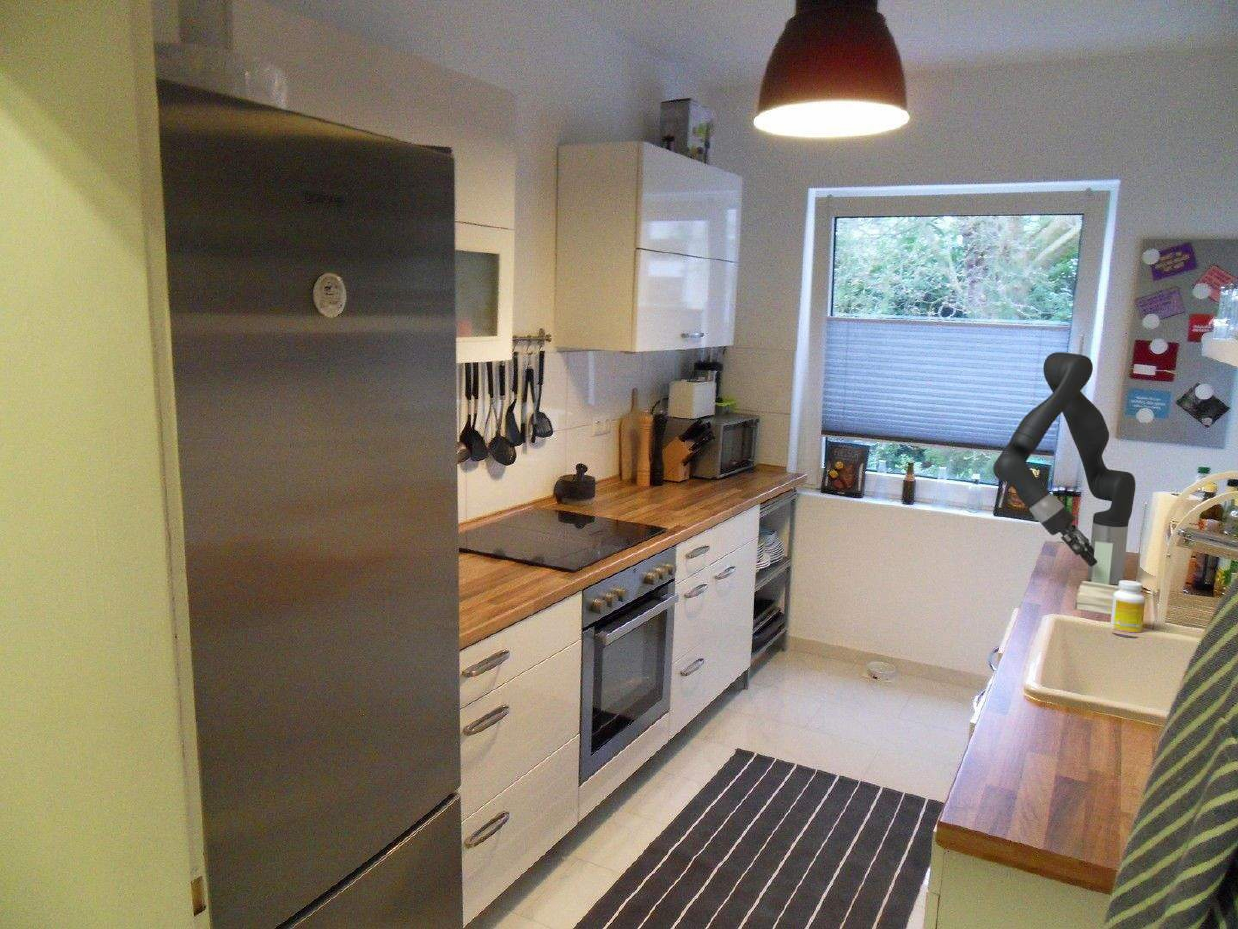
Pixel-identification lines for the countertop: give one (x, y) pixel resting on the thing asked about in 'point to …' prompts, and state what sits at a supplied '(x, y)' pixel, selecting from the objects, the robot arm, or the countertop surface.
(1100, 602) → the offcut stack
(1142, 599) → the supplement bottle
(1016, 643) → the countertop surface
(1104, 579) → the sage slat
